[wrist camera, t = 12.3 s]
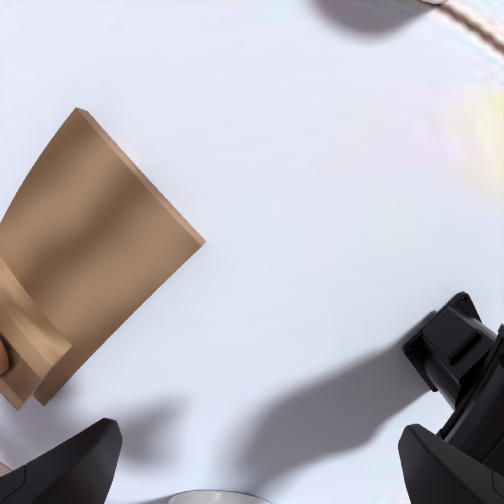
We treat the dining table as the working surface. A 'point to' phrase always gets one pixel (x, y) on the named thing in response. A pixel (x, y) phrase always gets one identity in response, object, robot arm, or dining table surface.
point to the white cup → (436, 1)
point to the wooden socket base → (79, 256)
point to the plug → (3, 359)
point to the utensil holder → (214, 498)
